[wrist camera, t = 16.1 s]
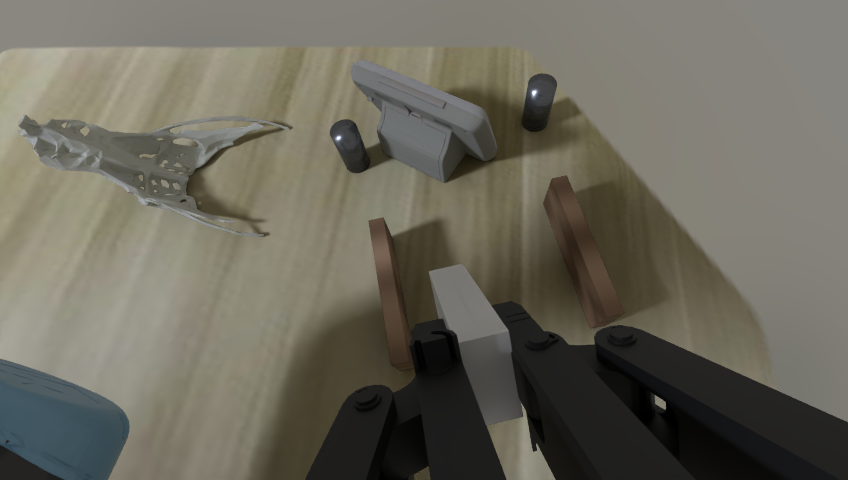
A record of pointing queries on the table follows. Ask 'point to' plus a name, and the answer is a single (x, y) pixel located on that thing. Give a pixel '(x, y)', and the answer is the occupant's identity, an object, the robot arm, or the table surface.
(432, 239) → the table surface
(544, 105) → the posts
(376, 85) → the digital clock
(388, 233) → the chute
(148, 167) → the skeletal model
